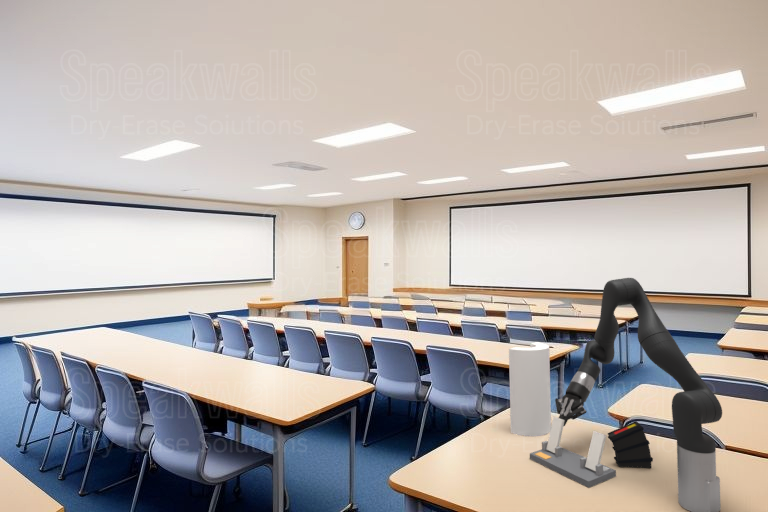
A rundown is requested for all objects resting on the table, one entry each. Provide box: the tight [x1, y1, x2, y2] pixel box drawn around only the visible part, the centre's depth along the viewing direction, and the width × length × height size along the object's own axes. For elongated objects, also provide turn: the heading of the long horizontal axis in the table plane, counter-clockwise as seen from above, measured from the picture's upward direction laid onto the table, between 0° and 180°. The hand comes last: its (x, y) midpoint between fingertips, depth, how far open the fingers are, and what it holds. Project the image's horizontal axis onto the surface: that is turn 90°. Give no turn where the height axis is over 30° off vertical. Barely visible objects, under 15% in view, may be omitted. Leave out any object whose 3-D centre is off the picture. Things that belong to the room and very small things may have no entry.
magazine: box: [607, 420, 654, 469], centre depth 155 cm, size 4×13×15 cm, turn 83°
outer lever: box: [546, 416, 565, 453], centre depth 163 cm, size 4×1×12 cm, turn 30°
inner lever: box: [585, 430, 607, 471], centre depth 149 cm, size 4×1×12 cm, turn 30°
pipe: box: [508, 341, 552, 437], centre depth 189 cm, size 35×11×21 cm
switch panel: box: [529, 440, 617, 489], centre depth 155 cm, size 24×14×5 cm, turn 30°
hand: (559, 425), depth 164 cm, fingers closed
